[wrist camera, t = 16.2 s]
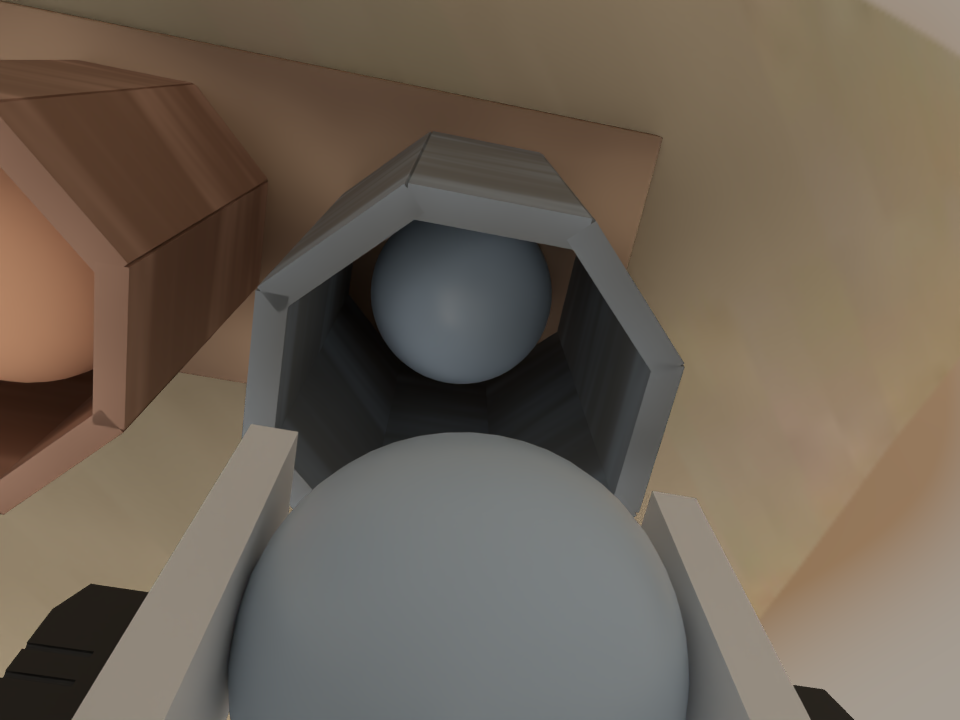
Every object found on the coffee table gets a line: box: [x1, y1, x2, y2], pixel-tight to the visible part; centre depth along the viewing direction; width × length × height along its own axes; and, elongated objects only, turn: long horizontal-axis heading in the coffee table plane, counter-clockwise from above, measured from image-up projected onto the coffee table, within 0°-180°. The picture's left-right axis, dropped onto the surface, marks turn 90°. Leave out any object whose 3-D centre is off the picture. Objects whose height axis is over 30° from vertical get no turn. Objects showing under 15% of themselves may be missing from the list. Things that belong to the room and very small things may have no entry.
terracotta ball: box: [0, 167, 94, 383], centre depth 19 cm, size 6×6×6 cm
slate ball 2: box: [228, 432, 690, 720], centre depth 10 cm, size 6×6×6 cm
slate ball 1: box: [371, 220, 552, 384], centre depth 26 cm, size 6×6×6 cm
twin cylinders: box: [0, 1, 684, 517], centre depth 22 cm, size 12×30×13 cm, turn 79°
